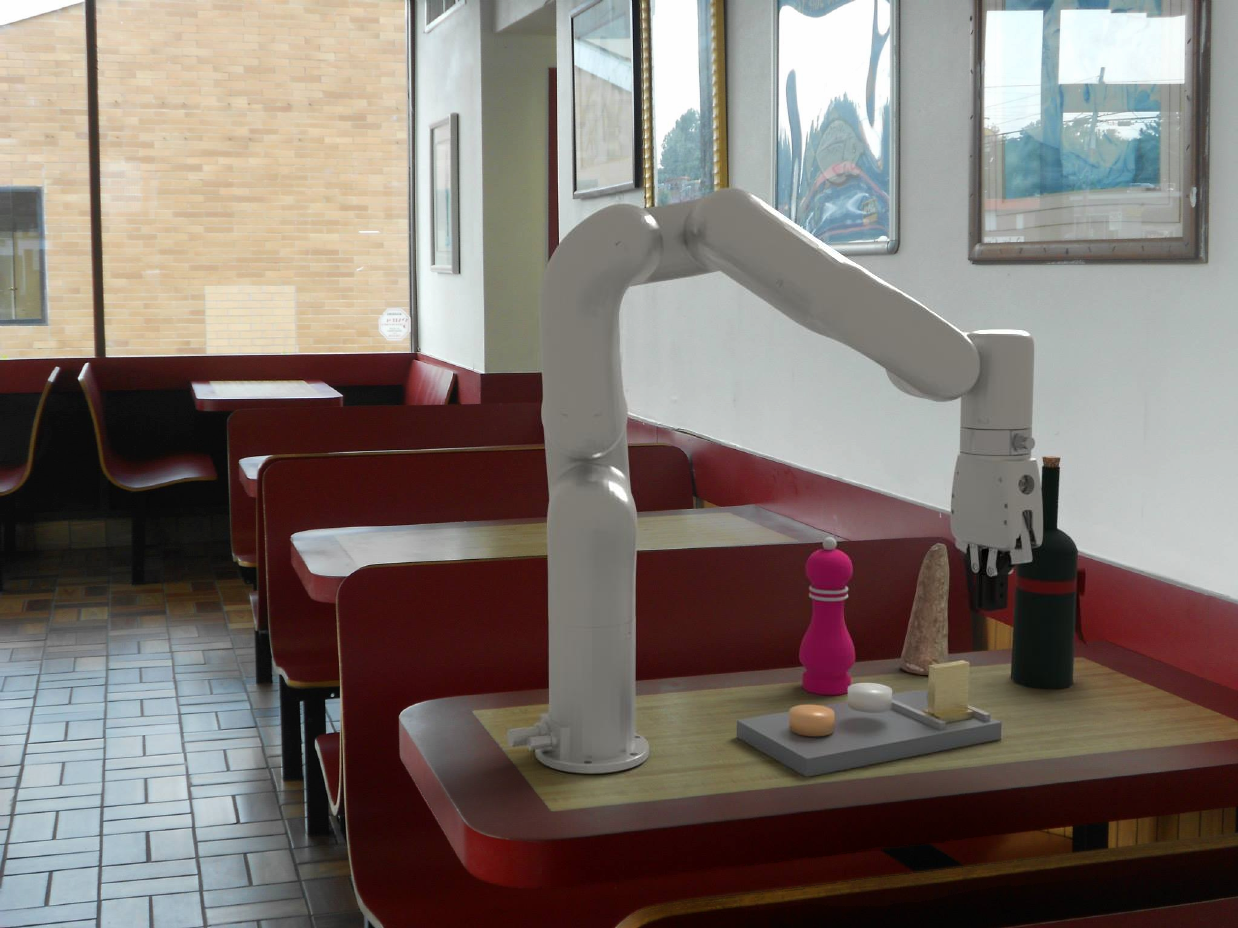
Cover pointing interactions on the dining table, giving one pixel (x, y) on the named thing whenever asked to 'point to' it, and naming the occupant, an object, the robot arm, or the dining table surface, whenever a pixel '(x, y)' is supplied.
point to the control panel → (866, 735)
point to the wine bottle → (1048, 600)
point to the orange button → (811, 720)
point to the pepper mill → (827, 623)
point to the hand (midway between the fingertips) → (991, 608)
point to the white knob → (869, 697)
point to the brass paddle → (949, 691)
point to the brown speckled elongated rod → (928, 615)
